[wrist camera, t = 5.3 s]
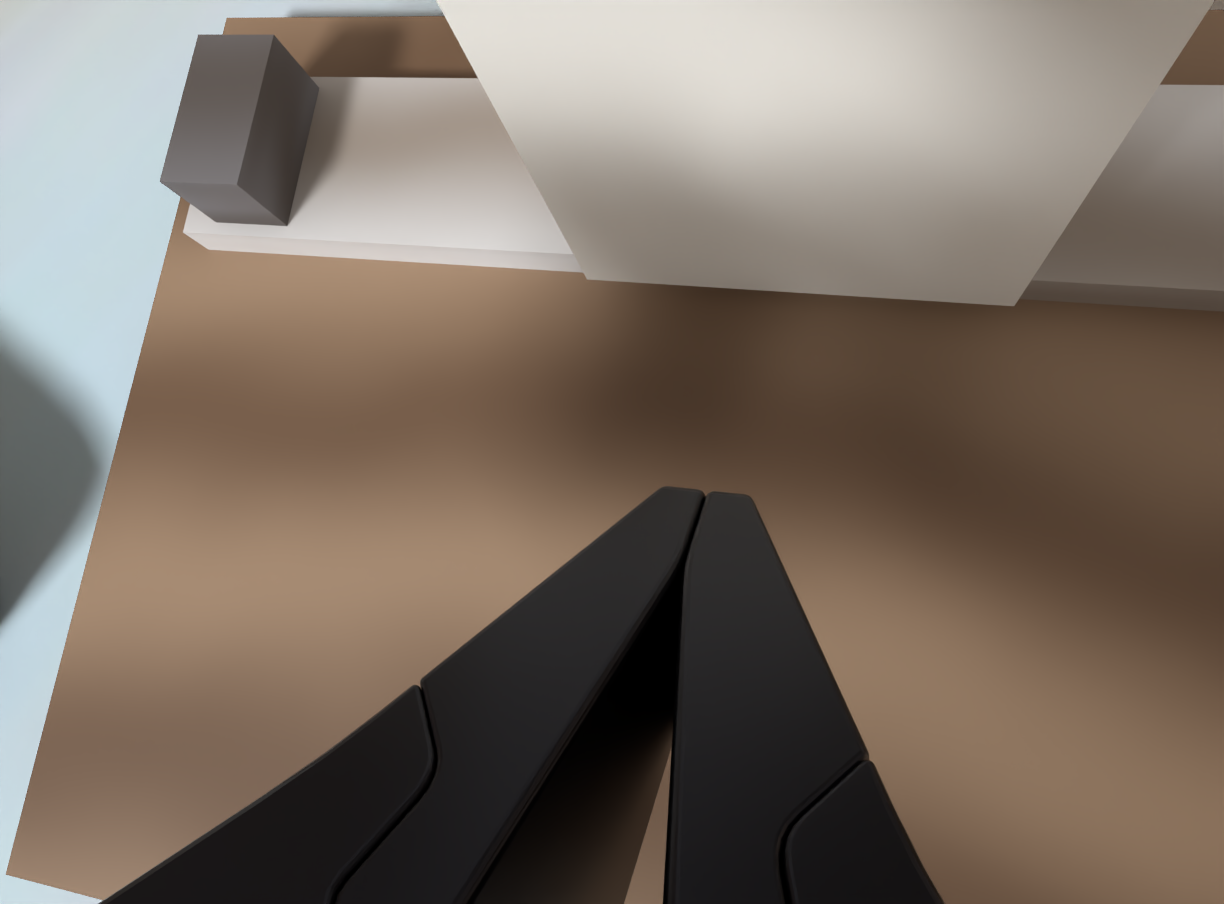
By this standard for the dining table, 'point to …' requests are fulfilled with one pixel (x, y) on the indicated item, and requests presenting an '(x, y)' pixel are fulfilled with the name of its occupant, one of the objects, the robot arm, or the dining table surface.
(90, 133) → the dining table surface
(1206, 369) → the board
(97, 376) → the dining table surface
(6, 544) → the dining table surface
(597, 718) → the robot arm
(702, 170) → the relay module
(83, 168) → the dining table surface
